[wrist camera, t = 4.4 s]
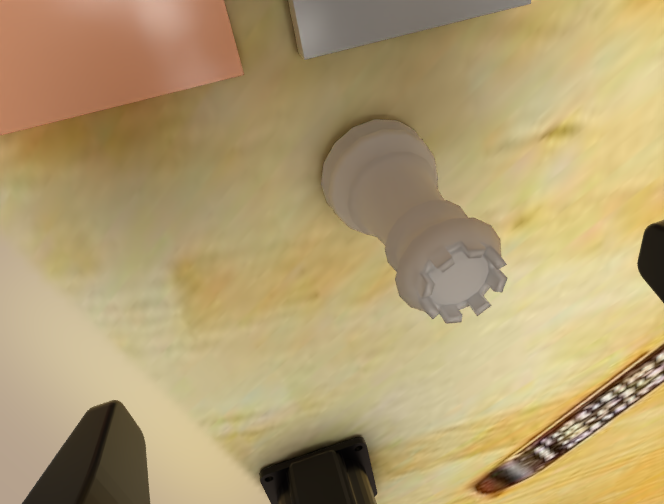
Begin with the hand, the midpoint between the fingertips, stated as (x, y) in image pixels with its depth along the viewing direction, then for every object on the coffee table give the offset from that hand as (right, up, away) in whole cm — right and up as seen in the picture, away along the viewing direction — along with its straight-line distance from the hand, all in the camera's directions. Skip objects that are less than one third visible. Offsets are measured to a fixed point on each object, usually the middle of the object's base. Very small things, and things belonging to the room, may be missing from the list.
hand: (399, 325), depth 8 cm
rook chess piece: (0, +5, +12) cm, 13 cm away
